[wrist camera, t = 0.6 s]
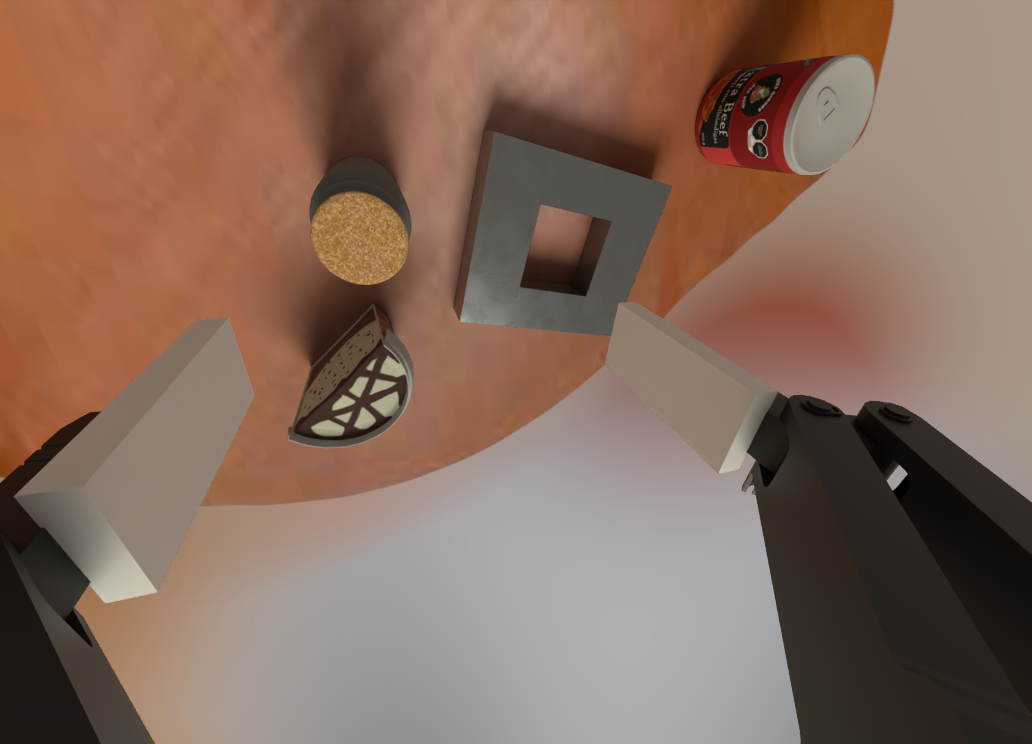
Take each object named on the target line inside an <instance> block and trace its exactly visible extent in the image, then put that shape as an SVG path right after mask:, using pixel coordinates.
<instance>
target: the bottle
mask: <svg viewBox="0 0 1032 744" xmlns="http://www.w3.org/2000/svg"><path fill="white" fill-rule="evenodd" d="M310 221H311V241H312V245H313V248H314V250H315V253H316V255H317V256H318V258H319V259H320V261H321V262H322V263H323V265H324V266H325V267H326V268H327V269H328V270H330V271H331V272H332V273H333V274H335V275H336V276H338V277H340V278H341V279H344V280H346V281H348V282H352V283H356V284H363V285H369V284H376V283H380V282H383V281H385V280H387V279H389V278H391V277H392V276H393V275H395V274H396V273H397V272H398V271H399V270H400V268H401V267H402V266H403V264H404V262H405V260H406V257H407V253H408V246H409V245H408V244H409V239H410V234H411V217H410V213H409V210H408V207H407V204H406V202H405V199H404V197H403V195H402V193H401V191H400V189H399V187H398V185H397V183H396V181H395V179H394V178H393V176H392V175H391V174H390V172H389V171H388V170H387V169H386V168H385V167H384V166H382V165H381V164H380V163H378V162H376V161H374V160H372V159H369V158H366V157H361V156H352V157H347V158H344V159H342V160H340V161H339V162H337V163H336V164H335V165H334V166H333V167H332V168H331V169H330V170H329V171H328V172H327V174H326V175H325V176H324V177H323V179H322V180H321V181H320V183H319V184H318V186H317V187H316V189H315V191H314V193H313V196H312V198H311V203H310Z"/></svg>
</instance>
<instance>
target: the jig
mask: <svg viewBox="0 0 1032 744" xmlns="http://www.w3.org/2000/svg"><path fill="white" fill-rule="evenodd" d="M671 189H672V186H670V185H667V184H664V183H661V182H657V181H654V180H651V179H648V178H644V177H641V176H638V175H635V174H631V173H628V172H625V171H622V170H619V169H615V168H612V167H609V166H606V165H602V164H599V163H596V162H593V161H589V160H586V159H583V158H580V157H576V156H573V155H570V154H567V153H563V152H560V151H557V150H554V149H550V148H547V147H544V146H541V145H537V144H534V143H531V142H528V141H524V140H521V139H518V138H515V137H511V136H508V135H505V134H502V133H498V132H495V131H483V137H482V142H481V148H480V154H479V160H478V166H477V172H476V178H475V184H474V189H473V195H472V201H471V207H470V213H469V219H468V225H467V231H466V236H465V242H464V248H463V254H462V260H461V266H460V272H459V278H458V284H457V289H456V295H455V301H454V307H453V308H454V310H455V312H456V314H457V317H458V319H459V321H460V322H466V323H477V324H488V325H499V326H509V327H520V328H531V329H541V330H552V331H563V332H573V333H584V334H595V335H606V336H611V335H612V330H613V326H614V321H615V317H616V312H617V308H618V303H621V302H626V301H627V298H628V296H629V293H630V291H631V288H632V286H633V283H634V281H635V278H636V276H637V273H638V271H639V268H640V266H641V263H642V261H643V258H644V256H645V253H646V251H647V249H648V246H649V244H650V241H651V239H652V236H653V234H654V231H655V229H656V226H657V224H658V221H659V219H660V216H661V214H662V211H663V209H664V206H665V204H666V201H667V199H668V196H669V194H670V191H671ZM541 204H542V205H547V206H551V207H555V208H559V209H563V210H567V211H572V212H576V213H580V214H584V215H588V216H592V217H593V220H592V223H591V226H590V230H589V233H588V236H587V239H586V242H585V245H584V248H583V251H582V254H581V258H580V261H579V264H578V267H577V270H576V273H575V276H574V279H573V282H572V285H568V284H562V283H555V282H548V281H542V280H535V279H528V278H522V276H523V272H524V268H525V264H526V260H527V256H528V252H529V248H530V244H531V240H532V237H533V233H534V229H535V225H536V221H537V217H538V213H539V209H540V205H541Z"/></svg>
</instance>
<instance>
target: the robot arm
mask: <svg viewBox="0 0 1032 744" xmlns="http://www.w3.org/2000/svg"><path fill="white" fill-rule="evenodd" d="M605 364H606V365H607V366H608V367H609V368H610V369H611V370H612V371H614V372H615V373H616V374H617V375H618V376H619V377H620V378H621V379H622V380H623V381H624V382H625V383H626V384H627V385H628V386H629V387H630V388H631V389H632V390H633V391H634V392H635V393H636V394H637V395H638V396H639V397H640V398H641V399H642V400H643V401H644V402H645V403H646V404H647V405H648V406H649V407H650V408H652V409H653V410H654V411H655V412H656V413H657V414H658V415H659V416H660V417H661V418H662V419H663V420H664V421H665V422H666V423H667V424H668V425H669V426H670V427H671V428H672V429H673V430H674V431H675V432H676V433H677V434H678V435H679V436H680V437H681V438H682V439H683V440H684V441H685V442H686V443H687V444H688V445H689V446H690V447H691V448H692V449H693V450H695V452H697V453H698V454H699V455H700V456H701V457H702V458H703V459H704V460H705V461H706V462H707V463H708V464H709V465H710V466H711V467H712V468H713V469H714V470H715V471H716V472H717V473H723V472H728V471H733V470H738V469H739V468H740V466H741V464H742V462H743V460H744V458H745V456H746V454H747V453H748V454H750V455H751V456H752V457H753V458H754V459H756V461H755V463H754V465H753V467H752V469H751V471H750V473H749V474H748V476H747V478H746V480H745V482H744V484H743V486H742V491H744V492H746V490H747V489H748V487H749V486H751V485H754V490H753V492H752V494H754V495H756V499H757V504H758V509H759V514H760V520H761V525H762V531H763V536H764V541H765V547H766V552H767V557H768V563H769V568H770V573H771V579H772V584H773V589H774V595H775V600H776V606H777V611H778V616H779V622H780V627H781V632H782V638H783V643H784V648H785V654H786V659H787V664H788V670H789V675H790V681H791V686H792V691H793V696H794V702H795V707H796V713H797V718H798V723H799V729H800V737H801V744H1032V502H1030V501H1029V500H1028V499H1026V498H1025V497H1024V496H1022V495H1021V494H1020V493H1019V492H1017V491H1016V490H1015V489H1013V488H1012V487H1011V486H1009V485H1008V484H1007V483H1006V482H1004V481H1003V480H1002V479H1000V478H999V477H998V476H996V475H995V474H994V473H993V472H991V471H990V470H989V469H987V468H986V467H985V466H983V465H982V464H981V463H979V462H978V461H977V460H975V459H974V458H973V457H971V456H970V455H969V454H968V453H966V452H965V451H964V450H962V449H961V448H960V447H958V446H957V445H956V444H955V443H953V442H952V441H951V440H949V439H948V438H947V437H945V436H944V435H943V434H942V433H940V432H939V431H937V430H936V429H935V428H934V427H932V426H931V425H930V424H928V423H927V422H926V421H924V420H923V419H922V418H920V417H919V416H917V415H916V414H914V413H912V412H910V411H909V410H907V409H905V408H904V407H902V406H899V405H895V404H892V403H884V402H880V401H869V402H866V403H865V404H864V405H863V407H862V409H861V410H860V412H859V413H858V415H857V416H853V415H845V414H844V413H843V412H842V411H841V410H840V409H839V408H838V407H836V406H834V405H832V404H830V403H828V402H825V401H824V400H821V399H817V398H814V397H811V396H805V395H793V396H792V397H790V398H789V399H788V398H787V397H785V396H783V395H782V394H780V393H779V392H778V390H776V389H775V388H773V387H771V386H770V385H768V384H767V383H765V382H763V381H762V380H760V379H758V378H757V377H755V376H754V375H752V374H750V373H749V372H747V371H746V370H744V369H742V368H741V367H739V366H738V365H736V364H734V363H733V362H731V361H730V360H728V359H726V358H725V357H723V356H721V355H720V354H718V353H717V352H715V351H713V350H712V349H710V348H709V347H707V346H705V345H704V344H702V343H701V342H699V341H697V340H696V339H694V338H693V337H691V336H689V335H688V334H686V333H684V332H683V331H681V330H680V329H678V328H676V327H675V326H673V325H671V324H670V323H668V322H667V321H665V320H663V319H662V318H660V317H659V316H657V315H656V314H654V313H652V312H651V311H649V310H647V309H646V308H644V307H643V306H641V305H639V304H638V303H636V302H621V303H618V308H617V312H616V317H615V321H614V326H613V330H612V335H611V339H610V344H609V348H608V353H607V357H606V362H605ZM254 396H255V395H254V392H253V389H252V386H251V383H250V380H249V377H248V374H247V371H246V368H245V365H244V362H243V359H242V356H241V353H240V350H239V347H238V344H237V341H236V338H235V335H234V332H233V329H232V326H231V323H230V320H229V318H205V319H197V320H196V321H195V322H194V323H193V324H192V325H190V326H189V327H188V328H187V329H186V330H185V331H184V332H183V333H182V334H181V335H180V336H179V337H178V338H177V339H176V340H175V341H174V342H173V343H172V344H171V345H170V346H169V347H168V348H167V349H166V350H165V351H164V352H163V353H162V354H161V355H159V356H158V357H157V358H156V359H155V360H154V361H153V362H152V363H151V364H150V365H149V366H148V367H147V368H146V369H145V370H144V371H143V372H142V373H141V374H140V375H139V376H138V377H137V378H136V379H135V380H134V381H133V382H132V383H131V384H129V385H128V386H127V387H126V388H125V389H124V390H123V391H122V392H121V393H120V394H119V395H118V396H117V397H116V398H115V399H114V400H113V401H112V402H111V403H110V404H109V405H108V406H107V407H106V408H105V409H104V410H103V411H100V412H90V413H88V414H86V415H84V416H83V417H81V418H79V419H77V420H75V421H74V422H72V423H70V424H68V425H66V426H65V427H63V428H61V429H60V430H59V431H58V432H57V433H55V434H54V435H53V436H52V437H51V438H50V439H49V440H48V441H47V442H45V443H44V444H43V445H42V446H41V450H36V451H35V452H34V453H33V454H32V455H31V456H30V457H29V458H28V459H26V460H25V461H24V463H25V464H24V465H20V466H19V467H18V468H16V469H15V470H14V471H13V472H12V473H11V474H10V475H9V476H7V477H6V478H5V479H4V480H3V481H2V482H1V483H0V744H155V743H154V741H153V740H152V738H151V736H150V734H149V732H148V731H147V729H146V727H145V726H144V724H143V722H142V720H141V718H140V716H139V715H138V713H137V711H136V709H135V708H134V706H133V704H132V702H131V701H130V699H129V697H128V695H127V694H126V692H125V690H124V688H123V686H122V685H121V683H120V681H119V680H118V678H117V676H116V674H115V673H114V671H113V669H112V667H111V665H110V664H109V662H108V660H107V658H106V657H105V655H104V653H103V651H102V649H101V648H100V646H99V644H98V643H97V641H96V639H95V637H94V635H93V633H92V632H91V630H90V628H89V626H88V625H87V623H86V621H85V619H84V618H83V616H82V615H81V614H80V613H79V612H78V611H77V610H76V609H75V608H74V606H75V605H76V603H77V602H78V600H79V599H80V597H81V596H82V594H83V593H84V591H85V590H86V588H87V587H88V585H90V586H91V587H92V588H93V590H94V591H95V592H96V593H97V594H98V595H99V597H100V598H101V599H102V600H103V601H104V602H105V603H109V602H113V601H118V600H123V599H128V598H133V597H137V596H142V595H147V594H151V593H156V592H158V591H159V589H160V587H161V584H162V583H163V580H164V578H165V576H166V574H167V572H168V570H169V568H170V566H171V564H172V562H173V560H174V558H175V556H176V554H177V552H178V550H179V548H180V546H181V544H182V542H183V540H184V538H185V536H186V534H187V532H188V530H189V528H190V526H191V524H192V522H193V520H194V518H195V516H196V513H197V511H198V509H199V507H200V505H201V503H202V501H203V499H204V497H205V495H206V493H207V491H208V489H209V487H210V485H211V483H212V481H213V479H214V477H215V475H216V473H217V471H218V469H219V467H220V465H221V463H222V461H223V459H224V457H225V455H226V453H227V451H228V449H229V447H230V445H231V443H232V441H233V439H234V437H235V435H236V432H237V430H238V428H239V426H240V424H241V422H242V420H243V418H244V416H245V414H246V412H247V410H248V408H249V406H250V404H251V402H252V400H253V398H254ZM898 465H900V466H901V467H902V468H903V469H904V470H905V471H906V472H907V473H908V474H907V476H906V477H905V478H904V479H903V480H902V482H901V483H900V484H899V485H898V487H897V488H896V489H894V490H893V491H892V489H891V488H890V486H889V484H888V483H887V481H886V480H887V479H888V478H889V477H890V475H891V474H892V473H893V472H894V470H895V469H896V468H897V467H898Z"/></svg>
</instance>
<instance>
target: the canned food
mask: <svg viewBox="0 0 1032 744" xmlns="http://www.w3.org/2000/svg"><path fill="white" fill-rule="evenodd" d="M874 92H875V77H874V72H873V69H872V66H871V64H870V63H869V61H868V60H867V59H866V58H864V57H863V56H861V55H856V54H853V55H849V54H845V55H838V56H828V57H821V58H814V59H808V60H801V61H794V62H787V63H780V64H774V65H767V66H760V67H753V68H746V69H740V70H735V71H733V72H731V73H729V74H727V75H726V76H724V77H722V78H721V79H720V80H718V81H717V82H716V83H715V84H714V85H713V86H712V87H711V88H710V90H709V91H708V93H707V94H706V95H705V97H704V99H703V101H702V103H701V106H700V108H699V111H698V115H697V119H696V126H695V138H696V143H697V146H698V148H699V151H700V152H701V154H702V155H703V156H704V157H705V158H707V159H708V160H710V161H711V162H713V163H716V164H720V165H728V166H736V167H743V168H751V169H759V170H767V171H774V172H782V173H792V174H801V175H808V174H810V175H814V174H818V173H822V172H824V171H826V170H828V169H829V168H831V167H832V166H834V165H835V164H836V163H837V162H838V161H840V160H841V159H842V158H843V157H844V156H845V154H846V153H847V152H848V151H849V150H850V149H851V147H852V146H853V144H854V143H855V142H856V140H857V139H858V137H859V135H860V133H861V131H862V130H863V128H864V126H865V123H866V121H867V119H868V116H869V113H870V110H871V107H872V103H873V98H874Z"/></svg>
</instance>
